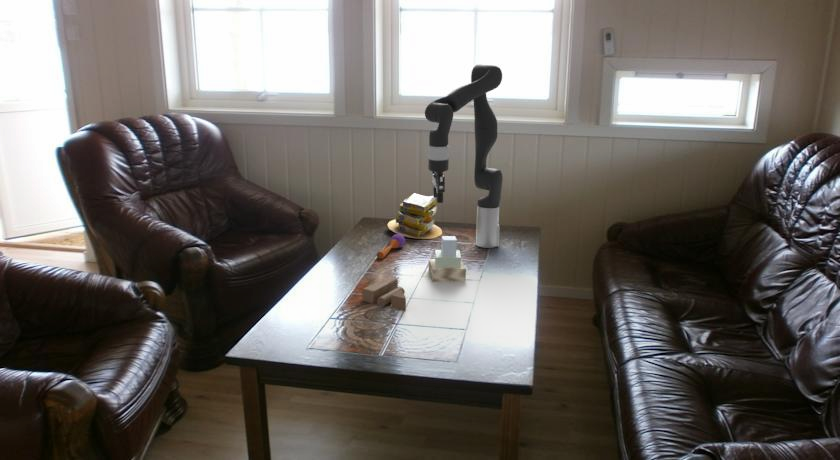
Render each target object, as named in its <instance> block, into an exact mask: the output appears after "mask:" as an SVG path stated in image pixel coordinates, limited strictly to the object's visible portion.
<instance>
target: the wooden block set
mask: <svg viewBox="0 0 840 460" xmlns="http://www.w3.org/2000/svg"><path fill="white" fill-rule="evenodd" d="M398 281H399V279H398V278H397V276H396V275H392V274H391V275H389V276H387V277H385V278H383V279H381V280H379V281H375V282H374V283H371V284H370V285H367V286H366V287H364V288H362V302H366V303H370V304H376V303H377V305H378V306H379V307H382V308H384V307H385V306H387V305H388V304H390V305H391V308H392V309H395V310H399V311H403V312H406V310H407V309H406V308H407V305H406V304H407V302H406V301H407V298H406V296H405V292H406V291H405V289H404V288H403V287H402V286H398V284H399V283H398Z"/></svg>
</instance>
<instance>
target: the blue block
mask: <svg viewBox="0 0 840 460" xmlns="http://www.w3.org/2000/svg"><path fill="white" fill-rule="evenodd" d="M440 241H441V245H440V250H441V253H442V256H456V250H458V249H457V248H458V247H457V244H458V239H457V237H456V236H455V235H441V240H440Z"/></svg>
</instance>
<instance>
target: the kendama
mask: <svg viewBox="0 0 840 460" xmlns="http://www.w3.org/2000/svg"><path fill="white" fill-rule="evenodd" d="M405 243H406V238H405V236H403V235H401V234H397V233H395V234H394V235H393V236H391V238H390V242H389V246H386V247H385V248H383V249H381V250H379V251H377V253H376V257H377V259H378V258H379V260H383V259H385V257H386V256H387V254H388V253H389V252H390V251H391V249H400V248H403V246H404V245H405Z"/></svg>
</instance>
